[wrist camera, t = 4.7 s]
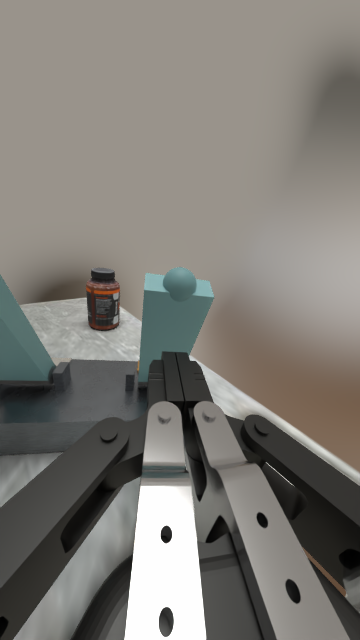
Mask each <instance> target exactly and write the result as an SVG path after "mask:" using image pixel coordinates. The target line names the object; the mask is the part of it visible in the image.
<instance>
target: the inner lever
mask: <svg viewBox="0 0 360 640" xmlns="http://www.w3.org/2000/svg"><path fill="white" fill-rule="evenodd" d="M56 367H57V366H56V365H55V364H54V363H53V361H52V359H51V358H50V356H49V354H48V353H47V351H46V349H45V348H44V346H43V344H42V343H41V341H40V339H39V338H38V336H37V334H36V333H35V331H34V329H33V328H32V326H31V325H30V323H29V321H28V320H27V318H26V316H25V315H24V313H23V311H22V310H21V308H20V306H19V305H18V303H17V301H16V300H15V298H14V296H13V295H12V293H11V291H10V290H9V288H8V286H7V285H6V283H5V282H4V280H3V279H2V277H1V275H0V384H41V385H51V384H53V383H54V380H53V374H52V373H53V371H54V370H55V369H56Z"/></svg>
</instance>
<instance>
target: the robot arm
mask: <svg viewBox="0 0 360 640" xmlns="http://www.w3.org/2000/svg"><path fill="white" fill-rule="evenodd" d="M183 435H184V440H185V444H184V443H183ZM266 462H267V463H268V464H269V465H270V466H272V467H273V468H274V469H275V470H276V471H277V472H279V473H280V474H281V475H282V476H283V477H284V478H286V479H287V480H288V481H289V482H290V483H291V484H293V485H294V486H295V487H294V486H293V485H291V484H290V483H289V482H288V481H287V480H285V479H284V478H283V477H282V476H281V475H280V474H278V473H277V472H276V471H275V470H274V469H273V468H271V467H270V466H269V465H268V464H267V463H266ZM185 463H186V466H185ZM186 468H187V470H186ZM140 476H141V480H140V490H139V499H138V508H137V517H136V526H135V536H134V545H133V554H132V555H131V556H129V557H128V558H127V559H125V560H124V561H123V562H122V563H120V565H119V566H118V567H117V568H116V569H115V570H114V571H113V572H112V573H111V574H110V575H109V576H108V578H107V579H106V580H105V581H104V583H103V584H102V585H101V587H100V588H99V590H98V591H97V593H96V594H95V596H94V597H93V599H92V601H91V603H90V604H89V606H88V608H87V610H86V612H85V613H84V615H83V617H82V619H81V621H80V623H79V625H78V626H77V628H76V630H75V632H74V634H73V636H72V637H71V639H70V640H360V486H359V485H357V484H356V483H355V482H353V481H352V480H350V479H349V478H348V477H346V476H345V475H343V474H342V473H341V472H339V471H338V470H336V469H335V468H334V467H332V466H331V465H329V464H328V463H327V462H325V461H324V460H323V459H321V458H320V457H318V456H317V455H316V454H314V453H313V452H311V451H310V450H309V449H307V448H306V447H304V446H303V445H302V444H300V443H299V442H297V441H296V440H295V439H293V438H292V437H290V436H289V435H288V434H286V433H285V432H283V431H282V430H281V429H279V428H278V427H276V426H275V425H274V424H272V423H271V422H270V421H268V420H267V419H265V418H263V417H261V416H259V415H249V416H247V417H246V418H245V420H244V421H243V420H240V419H236V418H233V417H230V416H227V415H225V414H224V413H223V411H222V409H221V408H220V407H219V406H218V405H216V404H214V402H213V399H212V397H211V394H210V391H209V388H208V385H207V383H206V381H205V377H204V375H203V372H202V369H201V367H200V366H199V364H198V363H197V362H196V361H190V360H189V356H188V353H187V352H167V351H162V355H161V360H153V361H152V362H151V364H150V365H149V374H148V383H147V410H146V412H145V413H144V414H143V415H142V416H140V417H139V418H137V419H134V420H132V421H129V422H125V421H124V420H123V419H121V418H117V417H109V418H105V419H103V420H101V421H99V422H98V423H97V424H96V425H94V426H93V427H92V428H91V429H90V430H89V431H88V432H86V433H85V434H84V435H83V436H82V437H81V438H80V439H78V440H77V441H76V442H75V443H74V444H73V445H72V446H70V447H69V448H68V449H67V450H66V451H65V452H64V453H62V454H61V455H60V456H59V457H58V458H57V459H56V460H54V461H53V462H52V463H51V464H50V465H49V466H48V467H46V468H45V469H44V470H43V471H42V472H41V473H40V474H38V475H37V476H36V477H35V478H34V479H33V480H32V481H30V482H29V483H28V484H27V485H26V486H25V487H24V488H22V489H21V490H20V491H19V492H18V493H17V494H16V495H14V496H13V497H12V498H11V499H10V500H9V501H8V502H6V503H5V504H4V505H3V506H2V507H1V508H0V640H13V639H14V637H15V636H16V635H17V633H18V632H19V630H20V629H21V628H22V626H23V625H24V623H25V622H26V621H27V619H28V618H29V616H30V615H31V614H32V612H33V611H34V610H35V608H36V607H37V605H38V604H39V603H40V601H41V600H42V598H43V597H44V596H45V594H46V593H47V591H48V590H49V589H50V587H51V586H52V585H53V583H54V582H55V580H56V579H57V578H58V576H59V575H60V573H61V572H62V571H63V569H64V568H65V566H66V565H67V564H68V562H69V561H70V559H71V558H72V557H73V555H74V554H75V553H76V551H77V550H78V548H79V547H80V546H81V544H82V543H83V541H84V540H85V539H86V537H87V536H88V534H89V533H90V532H91V530H92V529H93V527H94V526H95V525H96V523H97V522H98V521H99V519H100V518H101V516H102V515H103V514H104V512H105V511H106V509H107V508H108V507H109V505H110V504H111V502H112V501H113V500H114V498H115V497H116V495H117V494H118V493H119V491H120V490H121V489H122V487H123V485H124V484H126V483H128V482H130V481H132V480H134V479H136V478H138V477H140ZM192 496H193V498H192ZM193 501H194V507H195V519H194V509H193ZM196 535H197V539H196ZM197 540H198V541H197ZM301 546H302V547H303V548H304V549H305V550H306V551H307V552H308V553H310V555H311V556H313V558H314V559H315V560H316V561H317V562H318V563H319V564H320V565H321V566H322V567H323V568H324V569H325V570H326V571H327V572H328V573H329V574H330V575H331V576H332V577H333V578H334V579H335V580H336V581H337V582H338V583H339V584H340V585H341V586H342V587H343V588H344V589H345V590H346V592H347V595H346V597H344V596H343V595H342V594H341V593H340V592H339V591H338V590H337V589H336V587H335V586H334V585H333V584H332V583H331V582H330V581H329V580H328V579H327V578H326V577H325V576H324V575H323V574H322V572H321V571H320V570H319V569H318V568H317V567H316V566H315V565H314V564H313V563H312V562H311V561H310V560H309V559H308V558H307V556H306V554H305V552H304V550H303V549H302V547H301Z"/></svg>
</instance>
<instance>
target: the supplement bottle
mask: <svg viewBox="0 0 360 640" xmlns="http://www.w3.org/2000/svg"><path fill="white" fill-rule="evenodd" d="M91 276H92V278H91V280H89V281H88V282H87V284H86V290H87V307H88V321H89V325H90V326H91V327H93V328H95V329H99V330H107V329H112V328H114V327H116V326H117V325H118V324H119V298H120V288H119V283H118V282H116V281H115V279H114V277H115V273H114V270H111V269H106V268H93V269H91Z"/></svg>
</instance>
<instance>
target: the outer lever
mask: <svg viewBox="0 0 360 640" xmlns="http://www.w3.org/2000/svg"><path fill="white" fill-rule="evenodd" d="M213 299H214V295H213V291H212V288H211V285H210V282H209V281H205V280H197V279H195V276H194V275H193V273H192V272H191V271H189V270H188V269H185V268H182V267H179V268H174V269H171V270H170V271H169V272H168V273H167V274H166V275H157V274H149V273H146V276H145V287H144V302H143V316H142V317H143V318H142V331H141V346H140V360H139V375H138V385H147V383H148V374H149V365H150V364H151V362H152V361H153V360H161V355H162V351H167V352H187V353H188V356H189V355H190V352H191V350H192V348H193V345H194V343H195V341H196V338H197V336H198V334H199V332H200V329H201V327H202V325H203V322H204V320H205V318H206V315H207V313H208V311H209V309H210V306H211V304H212V302H213Z"/></svg>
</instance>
